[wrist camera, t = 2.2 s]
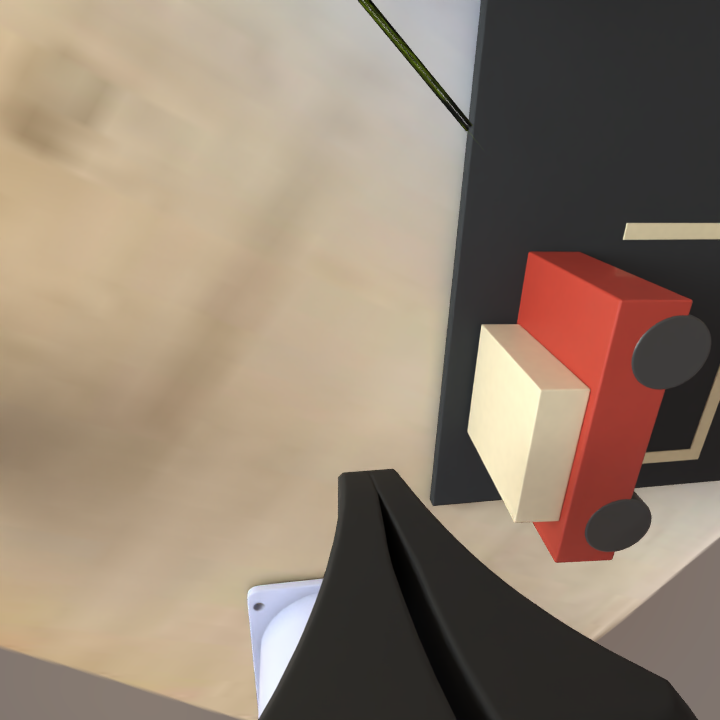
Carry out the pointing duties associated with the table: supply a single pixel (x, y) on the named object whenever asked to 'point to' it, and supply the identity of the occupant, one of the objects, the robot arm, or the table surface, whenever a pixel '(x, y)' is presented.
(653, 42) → the mat
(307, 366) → the table surface
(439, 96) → the toy tank
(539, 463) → the toy car
